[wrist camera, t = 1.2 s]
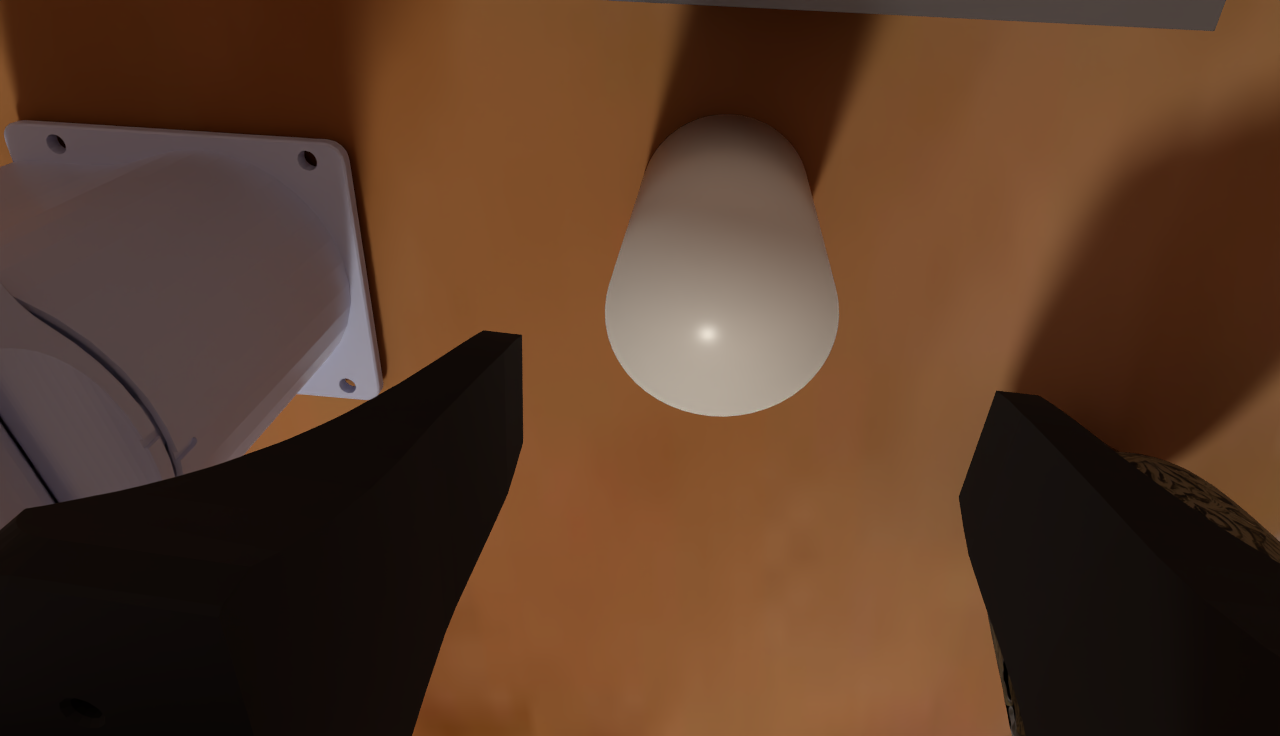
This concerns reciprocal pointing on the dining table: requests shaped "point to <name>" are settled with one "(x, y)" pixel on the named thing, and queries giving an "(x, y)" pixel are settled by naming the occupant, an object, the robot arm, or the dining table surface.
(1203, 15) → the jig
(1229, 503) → the cup
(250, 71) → the dining table surface
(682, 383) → the white rounded cylinder
